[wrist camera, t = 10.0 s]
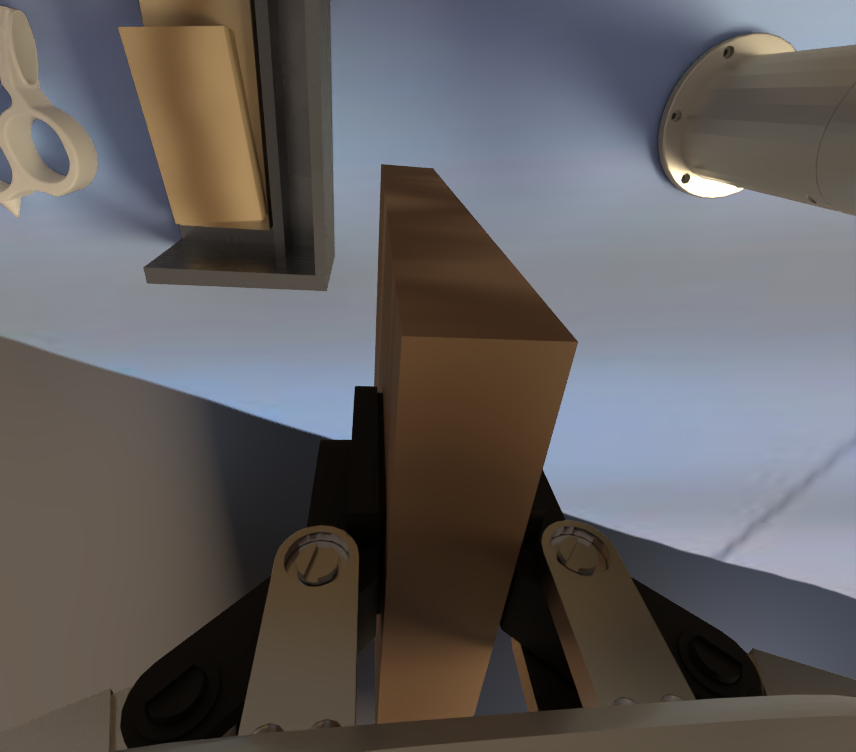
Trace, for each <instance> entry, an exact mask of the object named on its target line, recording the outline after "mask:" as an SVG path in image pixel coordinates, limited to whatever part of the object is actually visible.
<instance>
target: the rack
mask: <svg viewBox="0 0 856 752" xmlns="http://www.w3.org/2000/svg"><path fill="white" fill-rule="evenodd" d="M138 2H139V0H138ZM254 2H255V14H256V26H257V38H258V50H259V62H260V74H261V86H262V98H263V110H264V122H265V134H266V146H267V158H268V170H269V182H270V194H271V206H272V218H273V227H272V228H271V229H270V230H254V229H237V228H220V227H203V226H186V225H180V224H179V226H180V231H181V237H182V239H181V240H180V241H178V242H177V243H176V244H174V245H173V246H172V247H170V248H169V249H168V250H166V251H165V252H164V253H162V254H161V255H160V256H158V257H157V258H156V259H154V260H153V261H151V262H150V263H149V264H147V265H146V266H145V267H143V268H144V272H145V276H146V281H147V283H151V284H174V285H198V286H221V287H245V288H268V289H292V290H315V291H327V287H328V283H329V278H330V274H331V270H332V265H333V261H334V257H335V250H334V194H333V139H332V83H331V27H330V0H254ZM139 7H140V2H139ZM140 13H141V8H140ZM141 18H142V13H141ZM142 24H143V19H142ZM143 27H144V24H143Z"/></svg>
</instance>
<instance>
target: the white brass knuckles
mask: <svg viewBox="0 0 856 752" xmlns="http://www.w3.org/2000/svg"><path fill="white" fill-rule="evenodd" d="M0 79H1V84H2V85H3V86H4V88H5V89H6V90H7V91H8V93H9V94H10V96H11V99H12V105H11V107H10V108H8V109H6V110H5V111H4V112H3V113H2V114H1V115H0V147H1V149H2V150H3V152H4V154H5V156H6V158H7V160H8V162H9V164H10V167H11V170H12V181H11V184H8V183H5V182H3V181H1V180H0V203H1V204H2V205H3V206H4V207H5V208H7V209H8V210H9V211H10V212H11V213H13V214H14V215H15V216H16V217H17V218H19V213H20V203H21V197H23V196H27V195H30V194H32V193H33V192H34V191H41V192H45V193H48V194H51V195H53V196H55V197H58V196H62V195H65V194H68V193H71V192H74V191H78V190H80V189H83V188H85V187H86V186H88V185H89V184H90V183H91V182H92V180H93V179H94V177H95V175H96V172H97V167H98V159H97V153H96V150H95V147H94V144H93V142H92V140H91V138H90V137H89V135H88V133H87V132H86V131H85V129H84V128H83V127H82V126H81V125H80V124H79V123H78V122H77V121H76V120H75V119H74V118H73V117H71V116H70V115H69V114H67V113H66V112H64V111H62V110H60V109H58V108H56V107H54V106H53V105H52V104H51V102H50V101H49V100H48V99H47V97H46V96H45V95H44V93H43V92H42V91H41V89H40V86H39V81H38V56H37V51H36V45H35V40H34V36H33V33H32V30H31V28H30V25H29V23H28V21H27V18H26V17H25V15H24V14H23V13H22V12H21V11H20V10H16V9H12V8H8V7H4V6H0ZM36 118H38V119H40V120H42V121H44V122H45V123H47V124H48V125H49V126H50V127H51V128H52V129H53V130H54V131H55V132H56V133H57V134H58V136H59V138H60V139H61V141H62V144H63V146H64V148H65V150H66V152H67V155H68V158H69V164H70V166H69V171H68V174H67V175H66V176H64V175H61V174H58V173H56V172H55V171H53V170H52V169H50V168H49V167H48V166H47V165H46V164H45V163H44V162H43V160H42V159H41V157H40V156H39V154H38V151H37V149H36V147H35V145H34V143H33V141H32V137H31V126H32V123H33V122H34V120H35V119H36Z"/></svg>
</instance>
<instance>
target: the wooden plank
mask: <svg viewBox="0 0 856 752" xmlns="http://www.w3.org/2000/svg"><path fill="white" fill-rule="evenodd" d="M577 344H578V341H577V340H576V339H575V338H574V337H573V335H572V334H571V333H570V332H569V331H568V329H567V328H566V327H565V326H564V325H563V323H562V322H561V321H560V320H559V319H558V318H557V316H556V315H555V314H554V313H553V312H552V310H551V309H550V308H549V307H548V306H547V304H546V303H545V302H544V301H543V300H542V298H541V297H540V296H539V295H538V294H537V292H536V291H535V290H534V289H533V288H532V286H531V285H530V284H529V283H528V282H527V280H526V279H525V278H524V277H523V276H522V274H521V273H520V272H519V271H518V270H517V268H516V267H515V266H514V265H513V264H512V263H511V261H510V260H509V259H508V258H507V257H506V255H505V254H504V253H503V252H502V251H501V249H500V248H499V247H498V246H497V245H496V243H495V242H494V241H493V240H492V239H491V237H490V236H489V235H488V234H487V233H486V231H485V230H484V229H483V228H482V227H481V225H480V224H479V223H478V222H477V221H476V219H475V218H474V217H473V216H472V215H471V213H470V212H469V211H468V210H467V209H466V208H465V206H464V205H463V204H462V203H461V202H460V200H459V199H458V198H457V197H456V196H455V194H454V193H453V192H452V191H451V190H450V188H449V187H448V186H447V185H446V184H445V182H444V181H443V180H442V179H441V178H440V176H439V175H438V174H437V173H436V172H435V170H434V169H433V168H421V167H408V166H396V165H384V164H381V189H380V221H379V252H378V283H377V315H376V346H375V378H374V387H378V393H383V412H384V442H385V473H386V535H385V552H384V569H383V587H382V604H381V614H377V615H376V636H375V713H376V714H375V724H382V723H395V722H407V721H419V720H432V719H445V718H458V717H471V716H474V713H475V709H476V706H477V702H478V699H479V695H480V691H481V688H482V684H483V681H484V677H485V674H486V670H487V666H488V662H489V659H490V655H491V652H492V648H493V645H494V641H495V638H496V634H497V630H498V627H499V623H500V620H501V616H502V613H503V609H504V605H505V602H506V598H507V595H508V591H509V587H510V584H511V580H512V577H513V573H514V570H515V566H516V562H517V559H518V555H519V552H520V548H521V544H522V541H523V537H524V534H525V530H526V527H527V523H528V519H529V516H530V512H531V509H532V505H533V501H534V498H535V494H536V491H537V487H538V484H539V480H540V476H541V473H542V469H543V466H544V462H545V458H546V455H547V451H548V448H549V444H550V440H551V437H552V433H553V430H554V426H555V423H556V419H557V415H558V412H559V408H560V405H561V401H562V397H563V394H564V390H565V387H566V383H567V380H568V376H569V372H570V369H571V365H572V362H573V358H574V354H575V351H576V347H577Z"/></svg>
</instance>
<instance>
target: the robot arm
mask: <svg viewBox="0 0 856 752" xmlns="http://www.w3.org/2000/svg"><path fill="white" fill-rule="evenodd" d="M723 53H724V54H723ZM672 114H673V117H672ZM658 151H659V156H660V162H661V165H662V167H663V170H664V172H665V174H666V176H667V177H668V178H669V180H670V181H671V183H672V184H674V185H675V186H676V187H677V188H678V189H679V190H681V191H683V192H685V193H687V194H690V195H693V196H697V197H700V198H719V197H725V196H728V195H731V194H734V193H737V192H739V191H741V190H743V189H748V190H752V191H756V192H760V193H764V194H769V195H773V196H777V197H781V198H785V199H789V200H793V201H797V202H801V203H805V204H809V205H814V206H818V207H822V208H826V209H830V210H834V211H838V212H842V213H846V214H850V215H854V216H856V45H848V46H839V47H830V48H821V49H811V50H802V51H796V49H795V48H794V47H793V46H792V45H791V44H790V43H789V42H787V41H786V40H784V39H783V38H781V37H780V36H776V35H772V34H769V33H750V34H744V35H739V36H736V37H733V38H730V39H727V40H724V41H723V42H721V43H719V44H717V45H716V46H714V47H712V48H710V49H709V50H708V51H707V52H705V53H704V54H703V55H702V56H700V57H699V58H698V59H697V60H696V61H695V62H694V63H693V64H692V65H691V66H690V67H689V68H688V70H687V71H686V72H685V73H684V74H683V76H682V77H681V79H680V80H679V82H678V83H677V84H676V86H675V87H674V89H673V91H672V93H671V95H670V97H669V99H668V101H667V103H666V106H665V109H664V112H663V115H662V118H661V123H660V128H659V134H658ZM681 178H682V179H681ZM385 535H386V473H385V442H384V412H383V393H378V387H371V386H355V395H354V411H353V427H352V440H321V441H320V446H319V452H318V459H317V465H316V472H315V478H314V484H313V491H312V497H311V504H310V510H309V517H308V524H307V528H305V529H303V530H300V531H297V532H296V533H295V534H293V535H292V536H291V537H289V538H287V540H286V541H285V542H284V543H283V544H282V546H281V547H280V548H279V550H278V552H277V555H276V558H275V561H274V565H273V570H272V575H271V576H270V577H269V578H268V579H266V580H265V581H264V582H262V583H261V584H260V585H258V586H257V587H256V588H254V589H253V590H252V591H250V592H249V593H248V594H246V595H245V596H244V597H242V598H241V599H240V600H238V601H237V602H236V603H234V604H233V605H232V606H230V607H229V608H228V609H226V610H225V611H224V612H222V613H221V614H220V615H219V616H217V617H215V618H214V619H213V620H211V621H210V622H209V623H208V624H206V625H205V626H203V627H202V628H201V629H200V630H198V631H197V632H196V633H194V634H193V635H191V636H190V637H189V638H187V639H186V640H185V641H183V642H182V643H181V644H180V645H178V646H177V647H175V648H174V649H173V650H172V651H170V652H169V653H168V654H166V655H165V656H164V657H162V658H161V659H159V660H158V661H157V662H156V663H154V664H153V665H152V666H151V667H150V668H149V669H148V670H147V671H146V672H144V673H143V674H142V675H141V676H140V678H139V679H138V680H137V682H136V683H135V685H133V686H131V687H128V688H126V689H123V690H121V691H118V692H116V693H113V691H112V689H111V688H109V689H106V690H104V691H101V692H99V693H97V694H94V695H92V696H89V697H87V698H84V699H82V700H80V701H77V702H74V703H72V704H69V705H67V706H65V707H62V708H60V709H57V710H55V711H52V712H50V713H47V714H45V715H43V716H40V717H38V718H35V719H33V720H30V721H28V722H25V723H23V724H20V725H18V726H15V727H13V728H10V729H8V730H5V731H3V732H1V733H0V752H856V680H854V679H851V678H847V677H844V676H841V675H838V674H834V673H831V672H828V671H825V670H821V669H818V668H815V667H812V666H809V665H805V664H802V663H799V662H796V661H792V660H789V659H786V658H783V657H779V656H776V655H773V654H770V653H766V652H763V651H760V650H757V649H754V648H752V650H751V651H750V652H749V653H746V652H745V651H744V650H743V649H742V648H740V646H739V645H738V644H737V643H736V642H735V641H734V640H732V639H731V638H730V637H728V636H727V635H725V634H724V633H723V632H721V631H720V630H718V629H717V628H715V627H713V626H712V625H710V624H708V623H707V622H705V621H703V620H701V619H700V618H698V617H697V616H695V615H693V614H691V613H690V612H688V611H687V610H685V609H683V608H682V607H680V606H678V605H677V604H675V603H673V602H672V601H670V600H668V599H667V598H665V597H663V596H662V595H660V594H658V593H657V592H655V591H653V590H652V589H650V588H648V587H647V586H645V585H643V584H642V583H640V582H638V581H637V580H635V579H633V578H632V577H630V575H629V573H628V571H627V569H626V567H625V565H624V563H623V562H622V560H621V558H620V556H619V554H618V552H617V550H616V549H615V547H614V546H613V545H612V543H611V542H610V540H609V539H608V538H607V537H606V536H604V535H603V534H602V533H601V532H600V531H598V530H596V529H595V528H593V527H591V526H589V525H587V524H584V523H581V522H578V521H569V520H565V518H564V516H563V513H562V511H561V509H560V507H559V505H558V502H557V500H556V498H555V496H554V494H553V491H552V489H551V487H550V485H549V482H548V480H547V478H546V476H545V474H544V471H543V469H542V473H541V476H540V480H539V484H538V487H537V491H536V494H535V498H534V501H533V505H532V509H531V512H530V516H529V519H528V523H527V527H526V530H525V534H524V537H523V541H522V544H521V548H520V552H519V555H518V559H517V562H516V566H515V570H514V573H513V577H512V580H511V584H510V587H509V591H508V595H507V598H506V602H505V605H504V609H503V613H502V616H501V620H500V623H499V625H500V626H501V629H502V630H503V631H504V632H506V633H507V634H509V635H510V636H511V637H512V648H513V652H514V656H515V660H516V664H517V668H518V672H519V676H520V680H521V684H522V688H523V692H524V696H525V700H526V704H527V708H528V712H523V713H511V714H497V715H484V716H471V717H458V718H445V719H432V720H419V721H407V722H395V723H382V724H370V725H358V726H356V703H357V664H358V663H357V662H358V653H359V652H360V651H361V650H362V649H363V648H364V647H365V646H366V645H367V644H368V643H369V642H370V641H371V640H372V639H373V638H374V637H375V636H376V615H377V614H381V604H382V587H383V569H384V552H385Z"/></svg>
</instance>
